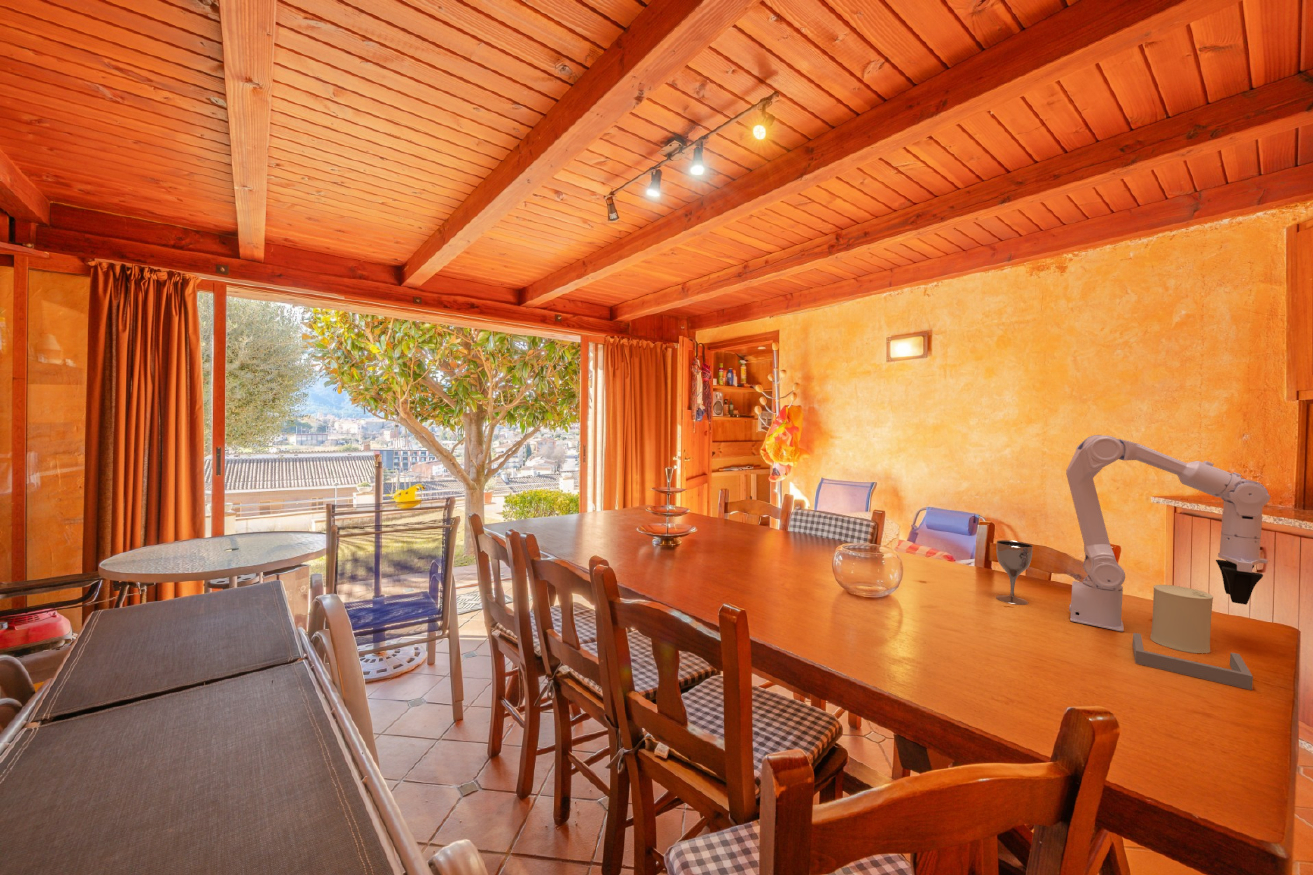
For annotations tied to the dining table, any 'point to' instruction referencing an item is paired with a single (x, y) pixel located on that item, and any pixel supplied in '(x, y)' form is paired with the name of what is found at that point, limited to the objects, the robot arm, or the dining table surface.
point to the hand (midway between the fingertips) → (1235, 598)
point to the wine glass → (1013, 564)
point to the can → (1181, 618)
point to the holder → (1195, 666)
